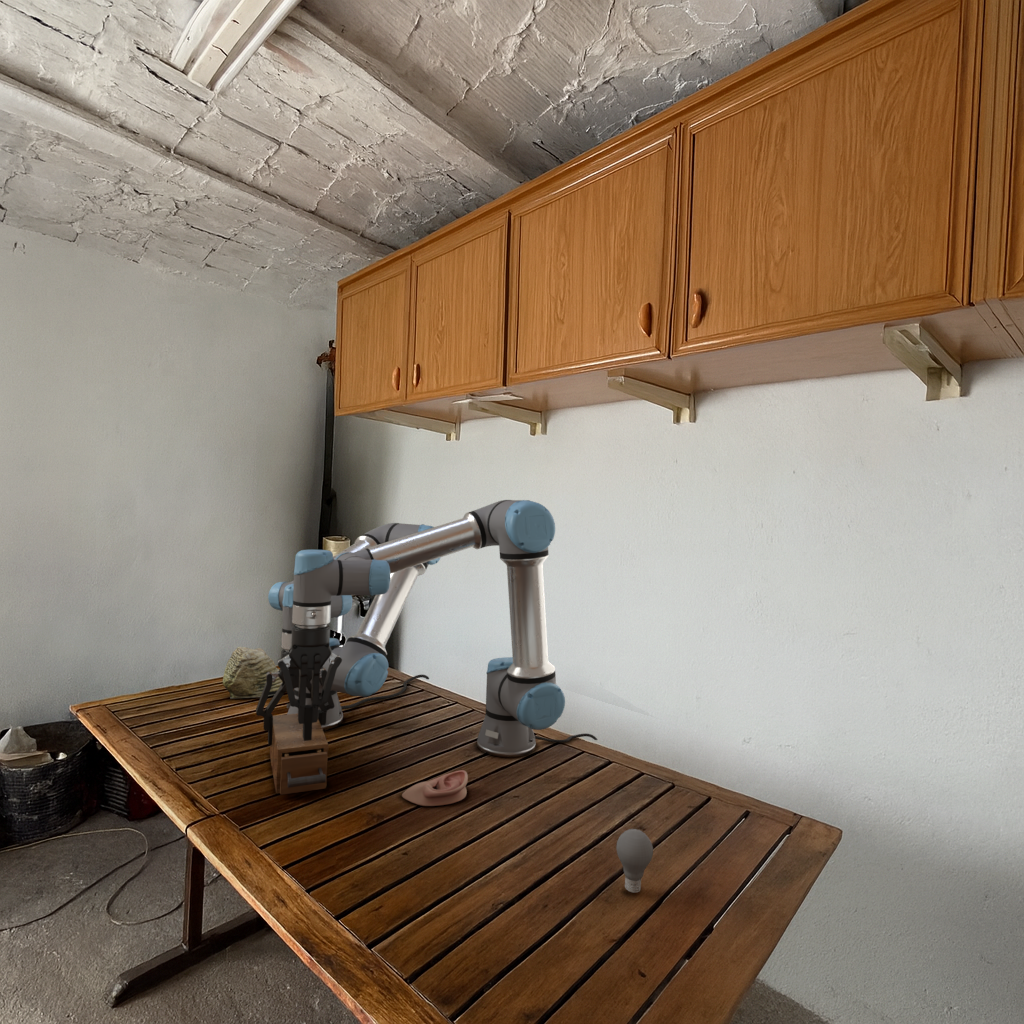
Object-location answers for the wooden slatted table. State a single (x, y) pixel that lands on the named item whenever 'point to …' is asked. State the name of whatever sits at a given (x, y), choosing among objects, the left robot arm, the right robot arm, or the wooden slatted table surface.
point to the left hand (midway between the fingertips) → (294, 740)
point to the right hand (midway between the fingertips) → (306, 738)
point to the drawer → (303, 771)
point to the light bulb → (634, 857)
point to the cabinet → (292, 741)
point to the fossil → (249, 673)
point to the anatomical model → (439, 790)
